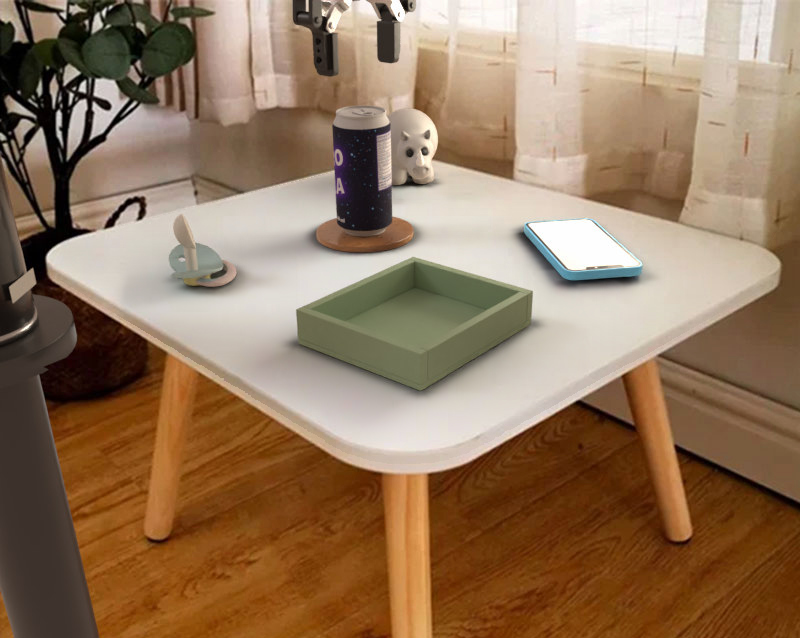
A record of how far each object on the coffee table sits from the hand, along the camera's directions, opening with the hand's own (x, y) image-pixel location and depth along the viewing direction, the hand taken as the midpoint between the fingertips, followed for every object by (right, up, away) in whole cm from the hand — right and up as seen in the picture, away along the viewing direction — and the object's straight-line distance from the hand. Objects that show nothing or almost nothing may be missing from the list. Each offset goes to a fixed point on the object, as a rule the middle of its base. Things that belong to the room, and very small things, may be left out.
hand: (358, 68), depth 89 cm
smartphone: (+21, -17, +3) cm, 28 cm away
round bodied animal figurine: (+5, -6, +23) cm, 24 cm away
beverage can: (0, -14, +8) cm, 16 cm away
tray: (+5, -26, -12) cm, 29 cm away
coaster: (0, -14, +8) cm, 17 cm away
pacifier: (-14, -20, -1) cm, 25 cm away
